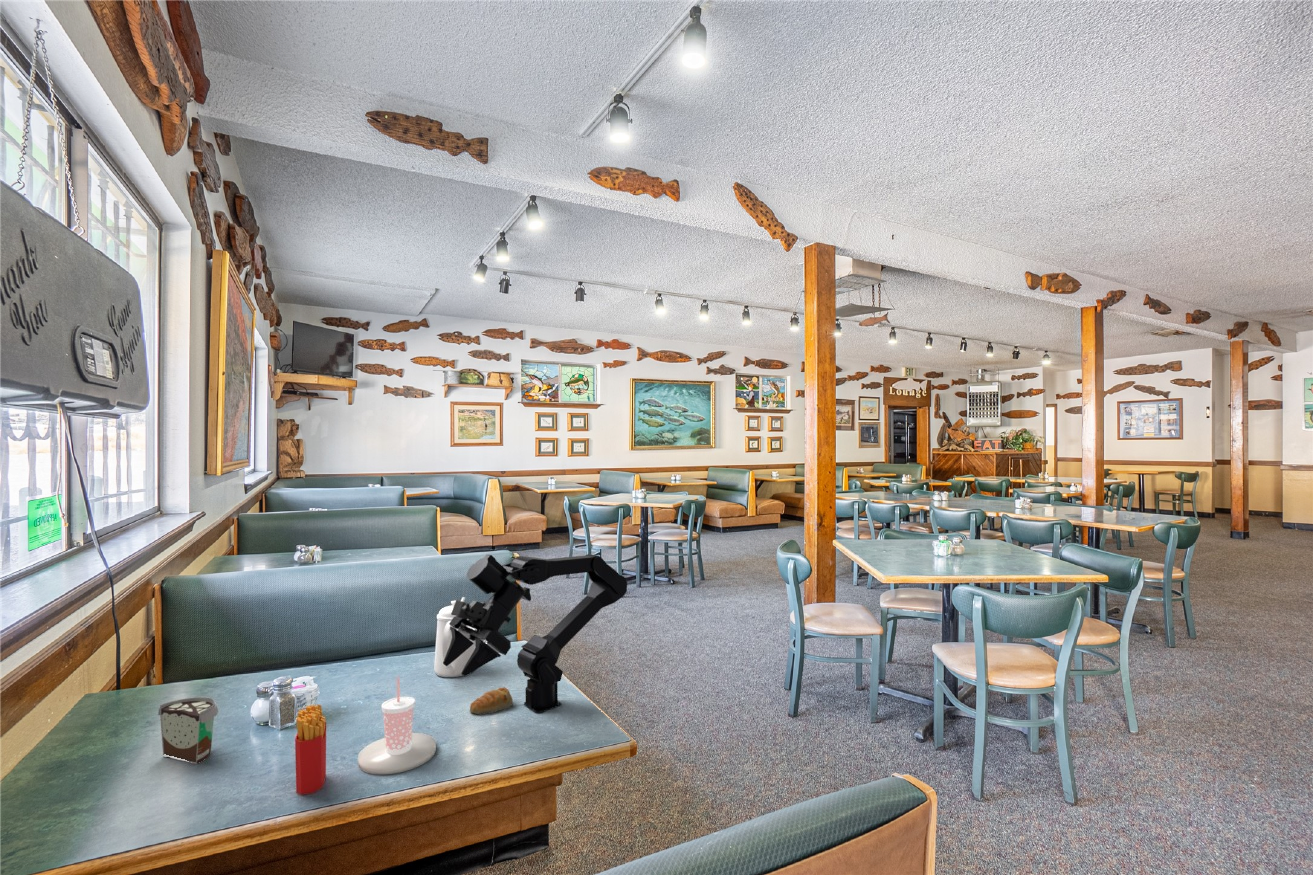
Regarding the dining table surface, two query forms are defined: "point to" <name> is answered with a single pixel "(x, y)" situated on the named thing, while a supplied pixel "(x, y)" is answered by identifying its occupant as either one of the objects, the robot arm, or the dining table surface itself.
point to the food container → (188, 728)
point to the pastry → (492, 701)
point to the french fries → (310, 750)
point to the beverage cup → (398, 723)
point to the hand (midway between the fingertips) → (453, 669)
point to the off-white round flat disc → (396, 756)
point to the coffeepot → (444, 642)
